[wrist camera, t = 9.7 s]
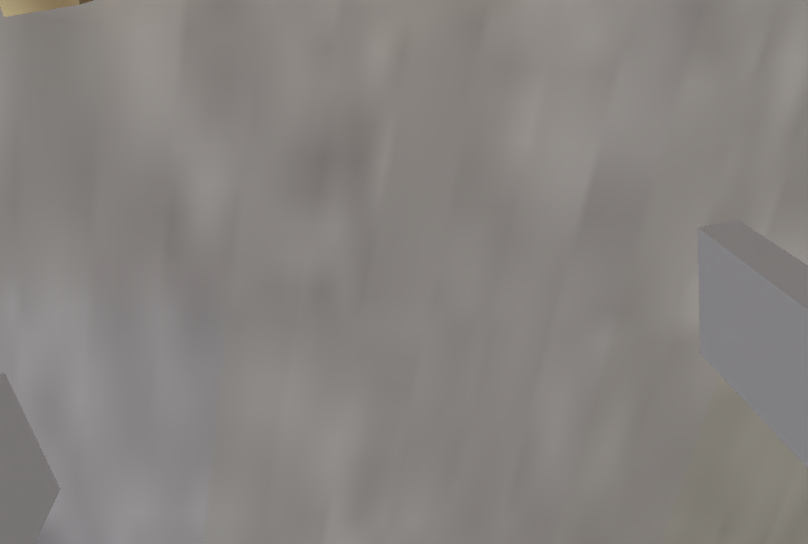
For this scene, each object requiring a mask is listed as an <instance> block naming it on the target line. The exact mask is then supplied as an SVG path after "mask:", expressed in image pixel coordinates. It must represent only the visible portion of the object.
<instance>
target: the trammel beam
mask: <svg viewBox="0 0 808 544" xmlns="http://www.w3.org/2000/svg"><path fill="white" fill-rule="evenodd" d="M89 1H93V0H0V7H1V10H2V12H3V15H4V17H7V16H13V15H19V14H25V13H31V12H37V11H43V10H49V9H55V8H61V7H66V6H72V5H78V4H82V3H86V2H89Z"/></svg>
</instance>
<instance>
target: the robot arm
mask: <svg viewBox="0 0 808 544" xmlns="http://www.w3.org/2000/svg"><path fill="white" fill-rule="evenodd" d="M698 262H699V330H700V353H701V354H702V355H703V357H704V358H705V359H706V360H707V361H708V362H709V363H710V364H711V365H712V366H713V367H714V368H715V369H716V370H717V372H718V373H719V374H720V375H721V376H722V377H723V378H724V379H725V380H726V381H727V382H728V383H729V384H730V385H731V387H732V388H733V389H734V390H735V391H736V392H737V393H738V394H739V395H740V396H741V397H742V398H743V399H744V401H745V402H746V403H747V404H748V405H749V406H750V407H751V408H752V409H753V410H754V411H755V412H756V413H757V414H758V416H759V417H760V418H761V419H762V420H763V421H764V422H765V423H766V424H767V425H768V426H769V427H770V428H771V430H772V431H773V432H774V433H775V434H776V435H777V436H778V437H779V438H780V439H781V440H782V441H783V442H784V443H785V445H786V446H787V447H788V448H789V449H790V450H791V451H792V452H793V453H794V454H795V455H796V456H797V457H798V458H799V460H800V461H801V462H802V463H803V464H804V465H805V466H806V467H807V468H808V266H807V265H806V264H804V263H803V262H801V261H800V260H798V259H797V258H795V257H794V256H792V255H791V254H789V253H788V252H786V251H785V250H783V249H782V248H780V247H778V246H777V245H775V244H774V243H772V242H771V241H769V240H768V239H766V238H765V237H763V236H762V235H760V234H759V233H757V232H756V231H754V230H753V229H751V228H750V227H748V226H747V225H745V224H744V223H742V222H741V221H739V220H733V221H728V222H724V223H719V224H714V225H709V226H705V227H700V228H698ZM59 490H60V487H59V485H58V483H57V481H56V479H55V477H54V475H53V473H52V471H51V468H50V466H49V464H48V462H47V460H46V458H45V456H44V454H43V452H42V450H41V448H40V445H39V443H38V441H37V439H36V437H35V435H34V433H33V431H32V429H31V427H30V425H29V423H28V420H27V418H26V416H25V414H24V412H23V410H22V408H21V406H20V404H19V402H18V400H17V397H16V395H15V393H14V391H13V389H12V387H11V385H10V383H9V381H8V379H7V377H6V374H5V373H2V374H0V544H34V543H35V541H36V539H37V536H38V534H39V532H40V530H41V528H42V526H43V524H44V522H45V520H46V518H47V515H48V513H49V511H50V509H51V507H52V505H53V503H54V501H55V499H56V497H57V494H58V492H59Z"/></svg>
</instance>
